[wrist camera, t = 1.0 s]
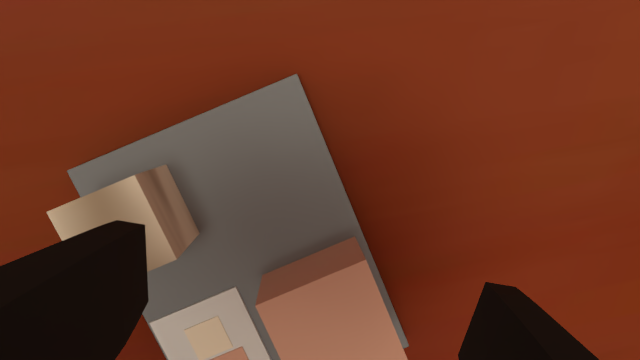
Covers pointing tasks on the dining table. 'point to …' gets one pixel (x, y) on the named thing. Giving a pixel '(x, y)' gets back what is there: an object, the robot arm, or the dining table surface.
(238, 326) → the card
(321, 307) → the terracotta block
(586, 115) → the dining table surface
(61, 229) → the cream cube
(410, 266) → the dining table surface
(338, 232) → the build board
